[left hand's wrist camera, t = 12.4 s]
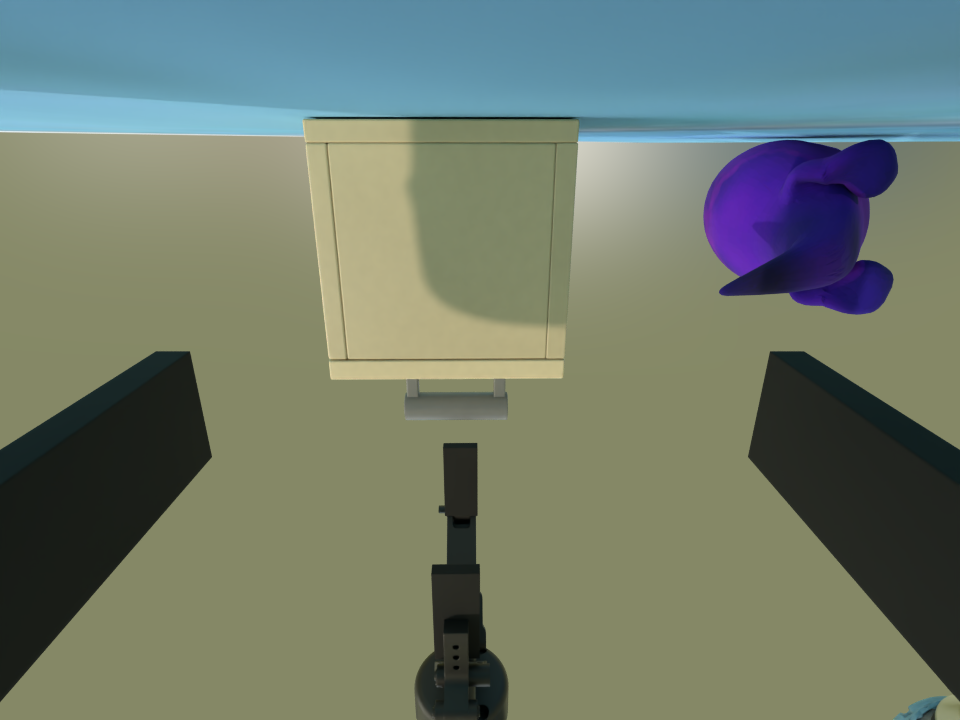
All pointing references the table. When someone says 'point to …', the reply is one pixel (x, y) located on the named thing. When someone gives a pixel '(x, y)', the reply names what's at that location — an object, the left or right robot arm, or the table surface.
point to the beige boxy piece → (450, 402)
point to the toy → (801, 222)
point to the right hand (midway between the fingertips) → (458, 496)
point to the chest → (443, 235)
